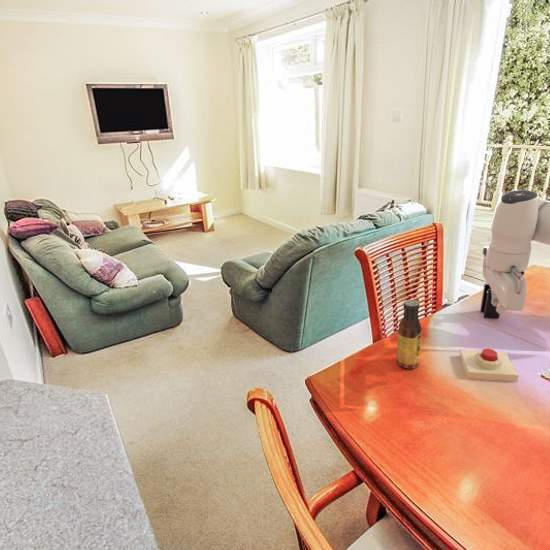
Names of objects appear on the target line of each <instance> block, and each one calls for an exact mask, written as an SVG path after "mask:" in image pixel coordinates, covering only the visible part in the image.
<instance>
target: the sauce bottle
mask: <svg viewBox="0 0 550 550" xmlns="http://www.w3.org/2000/svg"><path fill="white" fill-rule="evenodd" d="M419 309H420V302H419V301H417V300H414V299H407V300H404V301H403V314H402V315H403V316H402V318H401V319H400V321H399V323H398V332H397V347H396V349H397V350H396V351H397V352H396V359H397V360H396V362H397V364H398V366H400V367H401V368H402V367H403V369H405V368H407V369H406V370H414V369H417V368H418V367H419V365H420V360H421V347H422V335H423V333H422V332H423V328H422V324H421V321H420V319H419Z"/></svg>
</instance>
